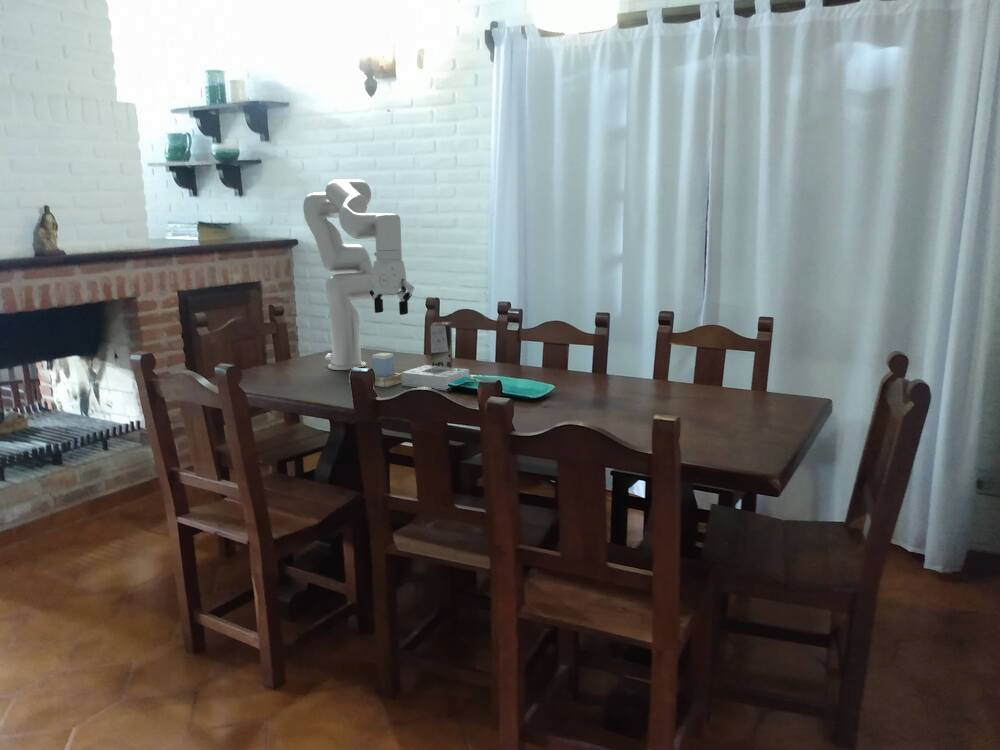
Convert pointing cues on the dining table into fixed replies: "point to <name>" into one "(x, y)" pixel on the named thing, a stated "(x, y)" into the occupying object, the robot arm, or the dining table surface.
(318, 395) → the dining table surface
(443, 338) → the coffee box
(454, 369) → the port
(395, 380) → the wooden square frame
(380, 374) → the plug
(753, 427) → the dining table surface
